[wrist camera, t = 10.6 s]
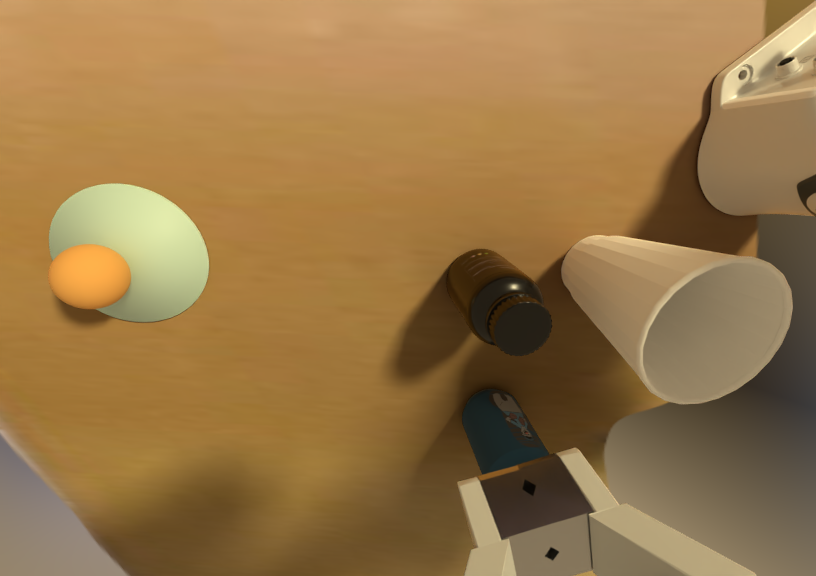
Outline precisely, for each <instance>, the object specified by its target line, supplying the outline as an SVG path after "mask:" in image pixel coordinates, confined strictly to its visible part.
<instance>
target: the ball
mask: <svg viewBox="0 0 816 576" xmlns="http://www.w3.org/2000/svg"><path fill="white" fill-rule="evenodd" d="M48 281H49V284H50V287H51V289H52V291H53V292H54V294H55V295H56V296H57V297H58V298H59V299H61V300H62V301H63V302H65V303H67V304H69V305H71V306H74V307H77V308H82V309H99V308H103V307H107V306H109V305H112V304H114V303H115V302H117V301H118V300H120V299H121V298H122V297H123V296H124V295H125V294H126V292H127V291H128V288H129V286H130V283H131V272H130V268H129V266H128V264H127V262H126V261H125V259H124V258H123V257H122V256H121V255H120V254H118V253H117V252H115V251H114V250H112V249H110V248H107V247H105V246H101V245H96V244H83V245H77V246H73V247H71V248H68V249H66V250H64V251H63V252H61V253H60V254H59V255H58V256H57V257H56V258H55V259H54V260H53V262H52V263H51V265H50V268H49V272H48Z"/></svg>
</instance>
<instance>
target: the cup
mask: <svg viewBox="0 0 816 576" xmlns="http://www.w3.org/2000/svg"><path fill="white" fill-rule="evenodd" d="M561 275H562V280H563V283H564V285H565V286H566V287H567V289H568V290H569V291H570V293H571V296H572V298H573V299H574V300H575V302H576V303H577V304H578V305H579V306H580V308H581V309H582V310H583V311H584V312H585V313H586V315H587V316H588V317H589V318H590V319H591V321H592V322H593V323H594V324H595V325H596V326H597V328H598V329H599V330H600V331H601V332H602V333H603V335H604V336H605V337H606V338H607V339H608V341H609V342H610V343H611V344H612V345H613V346H614V348H615V349H616V350H617V351H618V352H619V354H620V355H621V356H622V357H623V358H624V359H625V361H626V362H627V363H628V364H629V365H630V366H631V368H632V369H633V370H634V371H635V372H636V374H637V375H638V376H639V378H640V380H641V381H642V382H643V383H644V385H645V386H646V387H647V388H648V390H649V391H650V392H651V393H653V394H655V395H656V396H658V397H660V398H661V399H663V400H665V401H669V402H674V403H678V404H697V403H703V402H707V401H710V400H714V399H718V398H720V397H722V396H724V395H726V394H728V393H730V392H732V391H734V390H736V389H738V388H739V387H741V386H742V385H743V384H745V383H746V382H748V381H749V380H750V379H752V378H753V377H754V376H756V375H757V373H758V372H759V371H760V370H761V369H762V368H763V367H764V366H765V365H766V364H767V363H768V362H769V361H770V360H771V358H772V357H773V356H774V354H775V353H776V351H777V350H778V348H779V347H780V345H781V344H782V342H783V339H784V337H785V335H786V333H787V330H788V328H789V326H790V320H791V315H792V310H793V304H792V294H791V289H790V287H789V285H788V283H787V281H786V279H785V277H784V275H783V274H782V273H781V272H780V271H779V270H778V269H777V268H775V267H774V266H773V265H772V264H771V263H768V262H766V261H763V260H760V259H757V258H755V257H750V256H736V255H730V254H724V253H718V252H712V251H706V250H700V249H694V248H688V247H682V246H676V245H670V244H664V243H659V242H653V241H647V240H641V239H635V238H629V237H623V236H608V237H607V236H603V235H594V236H590V237H586V238H584V239H582V240H580V241H579V242H577V243H576V244H575V245H574V246H573V247H572V248H571V249H570V250H569V251H568V253H567V254H566V256H565V258H564V260H563V263H562V268H561Z"/></svg>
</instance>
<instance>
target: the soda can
mask: <svg viewBox="0 0 816 576" xmlns="http://www.w3.org/2000/svg"><path fill="white" fill-rule="evenodd" d="M462 423H463V426H464V429H465V431H466V434H467V437H468V439H469V442H470V444H471V447H472V449H473V452H474V454H475V457H476V460H477V462H478V465H479V467H480V470H481V472H482V475H483V474H487V473H491V472H495V471H498V470H502V469H506V468H510V467H514V466H516V465H518V464H521V463H524V462H528V461H531V460H534V459H537V458H540V457H544V456H547V455H549V453H548V451H547V450H546V448H545V446H544V445H543V443H542V441H541V440H540V438H539V437H538V435H537V433H536V432H535V430H534V428H533V427H532V425H531V424H530V422H529V420H528V419H527V417H526V415H525V414H524V412H523V411H522V409H521V407H520V406H519V404H518V402H517V401H516V399H515V398H514V397H513V396H512V395H510V394H509V393H507V392H504V391H501V390H497V389H485V390H482V391H479V392H477V393H476V394H474V395H473V396H472V397H471V398H470V399H469V400H468V402H467V404H466V406H465V408H464V411H463V415H462Z"/></svg>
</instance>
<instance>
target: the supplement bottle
mask: <svg viewBox="0 0 816 576" xmlns="http://www.w3.org/2000/svg"><path fill="white" fill-rule="evenodd" d="M447 290H448V293H449V296H450V298H451V299H452V301H453V303H454V304H455V306H456V307H457V309H458V310H459V312H460V314H461V315H462V317H463V318H464V320H465V321H466V323H467V324H468V326H469V328H470V329H471V330H472V332H473V333H474V334H475V335H476V336H477V337H478V338H479V339H480V340H482V341H483V342H485V343H488V344H491V345H495V346H497V347H499V348H500V350H501V351H504V352H505V353H506V354H510V355H515V356H523V355H528V354H529V353H533V352H534V351H535V350H538V349H539V347H541V346H542V345H543V344H544V343H545V342H546V340H547V338H548V337H549V334H550V332H551V328H552V324H551V323H552V320H551V315H550V314H549V312H548V310H547V309H546V308H545V306H544V302H543V296H542V293H541V291H540V289H539V287H538V286H537V284H536V283H535V282H534V281H533V280H532V279H530V278H529V277H528V276H527V275H525V274H524V273H523V272H521V271H520V270H519V269H518V268H516V267H515V266H514V265H512V264H511V263H510V262H508V261H507V260H506V259H505V258H503V257H502V256H500V255H499V254H497V253H496V252H494V251H491V250H487V249H476V250H472V251H469V252H466V253H465V254H463V255H461V256H460V257H459V258H458V259H457V260H456V261H455V262H454V263H453V264H452V266H451V268H450V270H449V272H448V276H447Z"/></svg>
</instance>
